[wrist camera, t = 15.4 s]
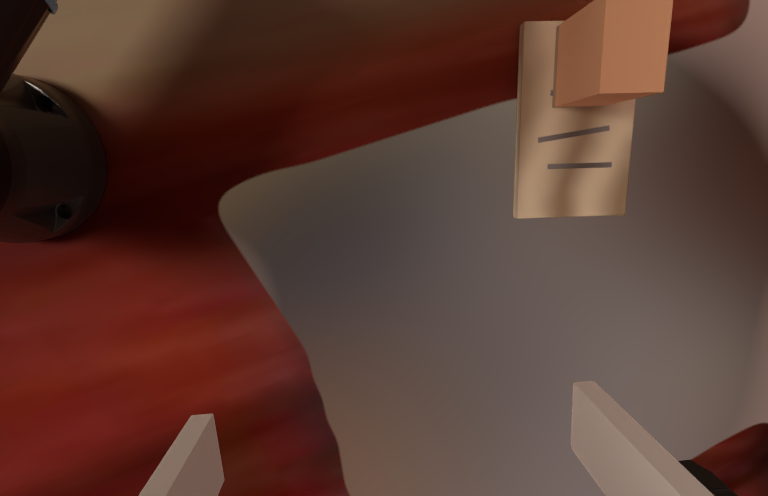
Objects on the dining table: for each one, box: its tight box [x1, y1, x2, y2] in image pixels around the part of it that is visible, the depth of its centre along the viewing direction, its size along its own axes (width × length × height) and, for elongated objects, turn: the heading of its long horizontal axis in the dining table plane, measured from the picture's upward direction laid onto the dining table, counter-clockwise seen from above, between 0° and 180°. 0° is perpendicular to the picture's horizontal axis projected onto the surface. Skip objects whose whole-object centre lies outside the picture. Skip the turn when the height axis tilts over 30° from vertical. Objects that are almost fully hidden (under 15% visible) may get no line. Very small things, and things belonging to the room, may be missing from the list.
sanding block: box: [552, 0, 673, 108], centre depth 34 cm, size 5×7×8 cm
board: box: [513, 21, 636, 219], centre depth 40 cm, size 11×18×1 cm, turn 2°
